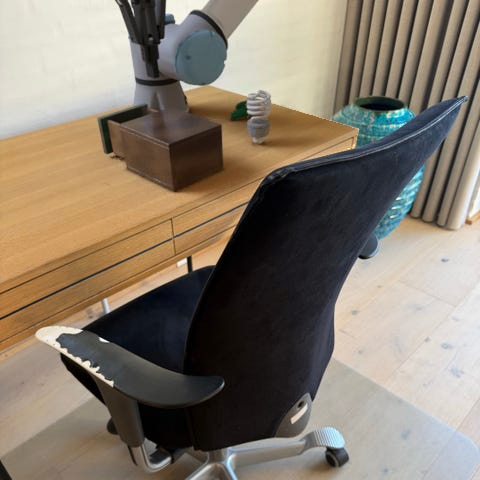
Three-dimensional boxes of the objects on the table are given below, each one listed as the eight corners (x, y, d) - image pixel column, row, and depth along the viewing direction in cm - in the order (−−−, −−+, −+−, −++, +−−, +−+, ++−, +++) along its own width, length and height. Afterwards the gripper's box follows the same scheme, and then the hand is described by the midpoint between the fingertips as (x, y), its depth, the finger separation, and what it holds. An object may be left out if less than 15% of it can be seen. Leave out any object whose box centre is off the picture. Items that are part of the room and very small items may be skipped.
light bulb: (259, 137, 117) (260, 85, 109) (274, 144, 114) (276, 91, 106) (241, 143, 115) (241, 90, 107) (256, 150, 111) (257, 96, 103)
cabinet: (126, 169, 104) (118, 124, 98) (176, 150, 112) (171, 106, 105) (173, 192, 96) (168, 144, 90) (223, 169, 104) (221, 124, 97)
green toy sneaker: (237, 128, 127) (253, 113, 124) (227, 117, 126) (243, 101, 122) (244, 116, 134) (259, 101, 130) (235, 105, 132) (250, 90, 129)
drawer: (91, 147, 111) (84, 112, 106) (136, 131, 118) (131, 98, 113) (143, 171, 101) (138, 134, 96) (189, 153, 108) (186, 117, 103)
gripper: (118, -50, 87) (140, 87, 103) (173, -57, 94) (185, 73, 110) (96, -52, 91) (120, 80, 107) (149, -58, 98) (165, 67, 114)
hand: (153, 76), depth 109 cm, fingers closed
